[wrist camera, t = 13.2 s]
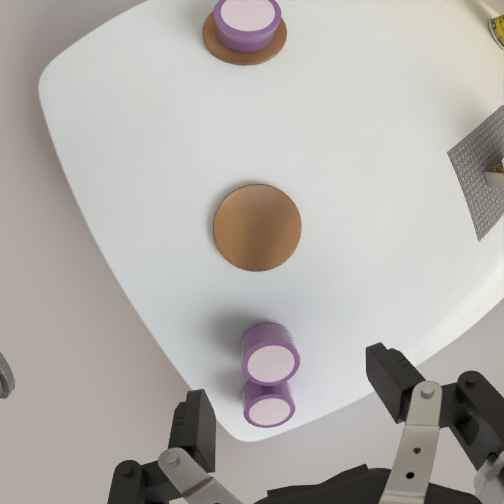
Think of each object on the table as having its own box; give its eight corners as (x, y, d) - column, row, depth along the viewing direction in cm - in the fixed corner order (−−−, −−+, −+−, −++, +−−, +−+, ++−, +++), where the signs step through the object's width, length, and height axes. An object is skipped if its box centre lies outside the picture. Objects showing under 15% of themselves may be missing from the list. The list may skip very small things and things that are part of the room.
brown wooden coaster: (223, 276, 24) (223, 279, 23) (205, 193, 22) (205, 193, 22) (305, 260, 24) (306, 262, 24) (292, 177, 22) (294, 177, 22)
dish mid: (245, 370, 27) (247, 390, 24) (235, 328, 25) (235, 346, 22) (295, 360, 27) (302, 379, 24) (290, 317, 25) (297, 334, 22)
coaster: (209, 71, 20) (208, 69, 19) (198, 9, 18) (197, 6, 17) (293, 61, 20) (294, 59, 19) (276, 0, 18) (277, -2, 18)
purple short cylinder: (220, 56, 19) (218, 40, 16) (211, 12, 18) (209, -7, 15) (281, 49, 19) (288, 33, 16) (269, 5, 18) (274, -13, 15)
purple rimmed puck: (247, 411, 28) (248, 431, 25) (237, 379, 27) (238, 399, 24) (292, 403, 28) (297, 422, 25) (287, 370, 27) (292, 389, 24)
